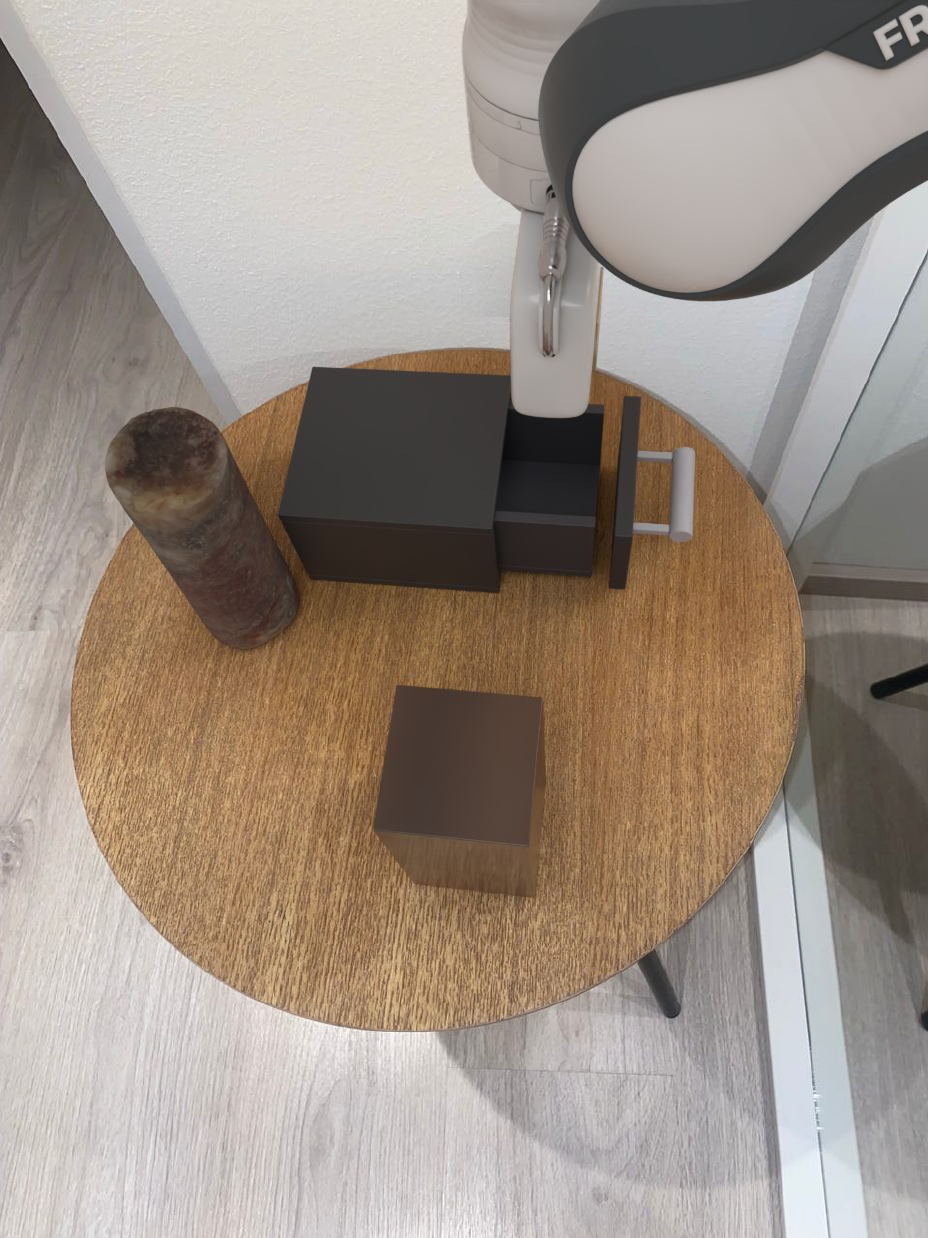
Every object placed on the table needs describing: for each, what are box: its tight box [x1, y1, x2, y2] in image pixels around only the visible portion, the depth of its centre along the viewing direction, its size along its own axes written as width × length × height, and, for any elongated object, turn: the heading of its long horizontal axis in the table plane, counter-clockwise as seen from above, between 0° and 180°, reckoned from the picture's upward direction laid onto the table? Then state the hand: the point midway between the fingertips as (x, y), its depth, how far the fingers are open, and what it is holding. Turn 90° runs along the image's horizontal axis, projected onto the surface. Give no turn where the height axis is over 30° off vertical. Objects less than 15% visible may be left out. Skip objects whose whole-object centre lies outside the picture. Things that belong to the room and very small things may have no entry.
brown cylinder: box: [104, 406, 299, 650], centre depth 65 cm, size 8×7×20 cm
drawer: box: [494, 395, 696, 591], centre depth 70 cm, size 18×11×8 cm, turn 83°
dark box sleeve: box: [277, 366, 512, 594], centre depth 72 cm, size 15×13×10 cm
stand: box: [372, 684, 547, 899], centre depth 58 cm, size 8×8×16 cm
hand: (564, 329), depth 55 cm, fingers closed on cube, 4 cm apart
